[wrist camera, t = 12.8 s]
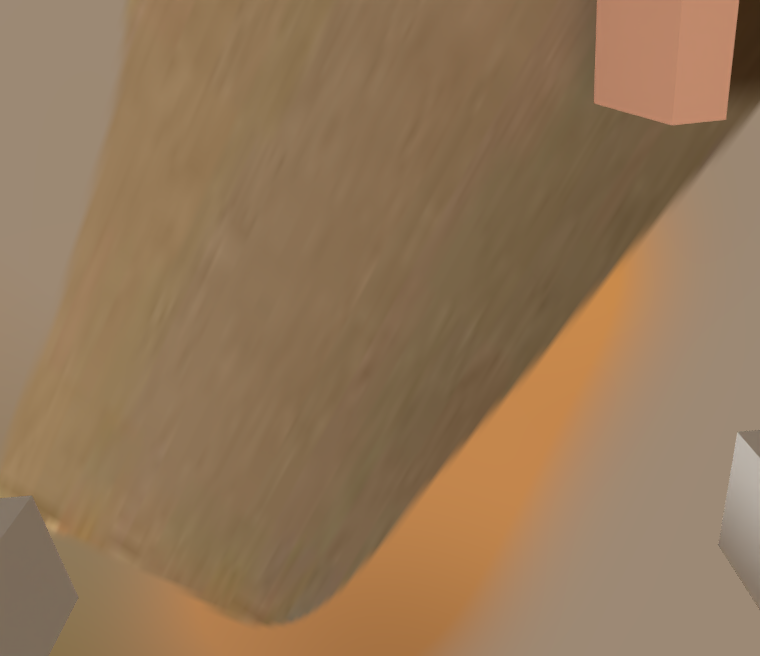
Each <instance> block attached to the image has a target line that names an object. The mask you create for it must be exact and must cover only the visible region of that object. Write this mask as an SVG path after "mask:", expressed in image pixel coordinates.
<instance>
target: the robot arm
mask: <svg viewBox="0 0 760 656" xmlns="http://www.w3.org/2000/svg"><path fill="white" fill-rule="evenodd" d="M718 545H719V547H720V549H721V550H722V552H723V553H724V555H725V556H726V558H727V559H728V561H729V563H730V564H731V566H732V567H733V569H734V570H735V572H736V574H737V575H738V577H739V578H740V580H741V581H742V583H743V584H744V586H745V588H746V589H747V591H748V592H749V594H750V595H751V597H752V599H753V600H754V602H755V603H756V605H757V606H758V608H759V609H760V430H754V431H744V432H738V433H737V438H736V444H735V450H734V456H733V462H732V468H731V473H730V479H729V486H728V491H727V497H726V503H725V509H724V515H723V520H722V526H721V533H720V539H719V544H718ZM77 599H78V595H77V593H76V591H75V589H74V587H73V584H72V582H71V580H70V578H69V576H68V573H67V571H66V569H65V567H64V565H63V563H62V561H61V558H60V556H59V554H58V552H57V549H56V547H55V545H54V543H53V541H52V539H51V536H50V534H49V532H48V530H47V528H46V525H45V523H44V521H43V519H42V517H41V515H40V512H39V510H38V508H37V506H36V504H35V501H34V499H33V497H32V496H22V497H11V498H0V656H49V654H50V652H51V650H52V648H53V646H54V644H55V642H56V640H57V638H58V636H59V634H60V632H61V630H62V629H63V627H64V625H65V623H66V621H67V619H68V617H69V615H70V613H71V611H72V609H73V607H74V605H75V603H76V601H77Z"/></svg>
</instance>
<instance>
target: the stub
mask: <svg viewBox="0 0 760 656" xmlns="http://www.w3.org/2000/svg"><path fill="white" fill-rule="evenodd" d="M738 7H739V0H597V21H596V54H595V87H594V104H598V105H602V106H605V107H609V108H612V109H616V110H619V111H623V112H627V113H630V114H634V115H637V116H641V117H644V118H648V119H651V120H655V121H659V122H662V123H666V124H669V125H680V124H689V123H699V122H708V121H717V120H726V114H727V105H728V96H729V87H730V78H731V69H732V60H733V51H734V42H735V34H736V25H737V16H738Z"/></svg>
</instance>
